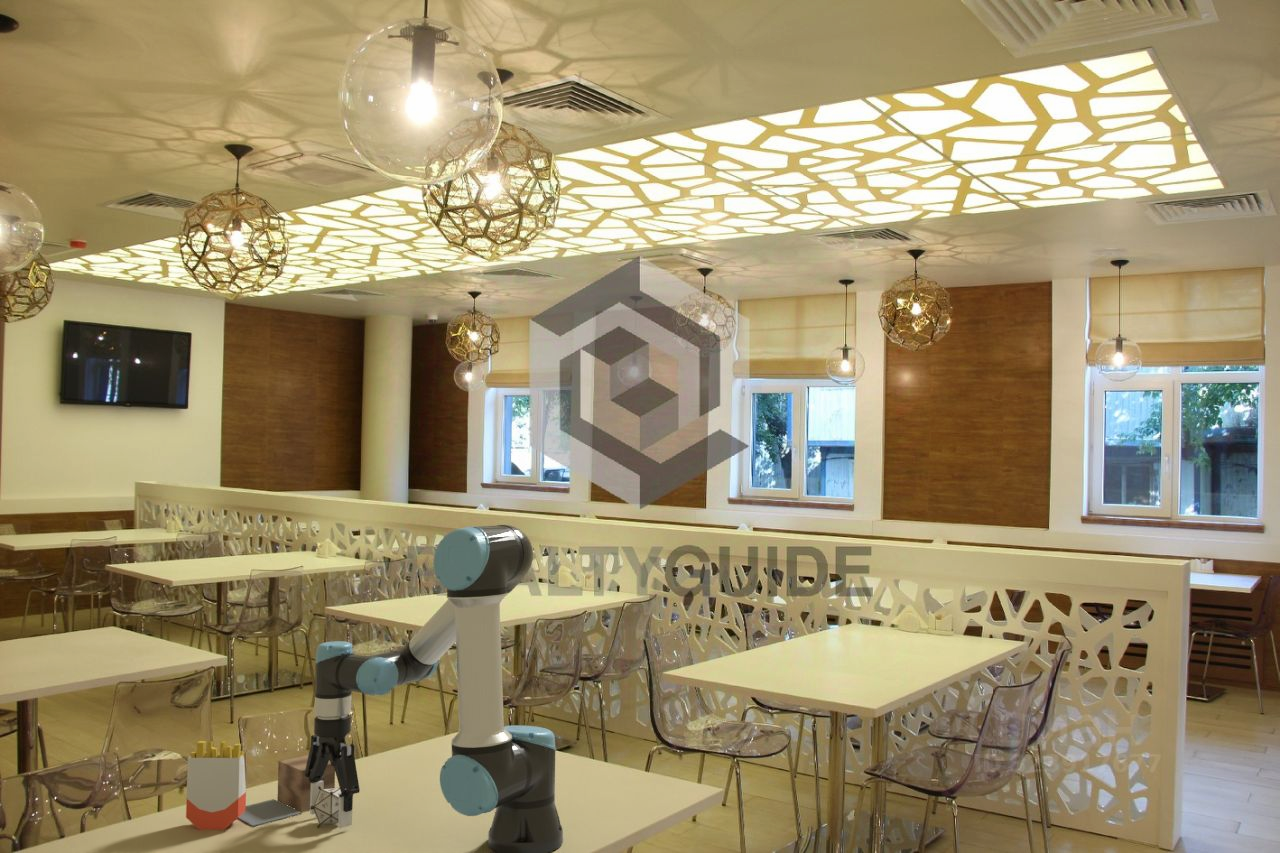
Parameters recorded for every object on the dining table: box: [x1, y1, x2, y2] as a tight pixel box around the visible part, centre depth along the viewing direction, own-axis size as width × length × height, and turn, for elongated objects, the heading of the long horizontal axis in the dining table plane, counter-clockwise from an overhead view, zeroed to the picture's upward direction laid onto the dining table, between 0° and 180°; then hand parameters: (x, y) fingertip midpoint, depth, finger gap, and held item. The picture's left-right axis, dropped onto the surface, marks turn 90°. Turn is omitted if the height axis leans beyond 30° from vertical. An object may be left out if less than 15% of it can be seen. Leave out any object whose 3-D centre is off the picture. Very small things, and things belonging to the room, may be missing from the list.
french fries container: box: [185, 740, 247, 830], centre depth 207 cm, size 5×11×18 cm, turn 91°
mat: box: [237, 798, 303, 828], centre depth 214 cm, size 13×11×1 cm
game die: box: [310, 786, 341, 829], centre depth 208 cm, size 9×8×10 cm
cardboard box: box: [277, 753, 336, 813], centre depth 222 cm, size 11×8×9 cm
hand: (330, 819), depth 207 cm, fingers open, 11 cm apart
